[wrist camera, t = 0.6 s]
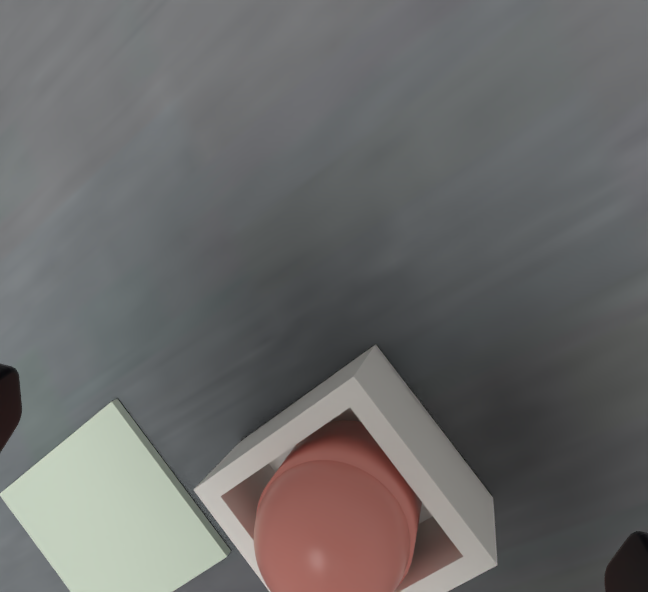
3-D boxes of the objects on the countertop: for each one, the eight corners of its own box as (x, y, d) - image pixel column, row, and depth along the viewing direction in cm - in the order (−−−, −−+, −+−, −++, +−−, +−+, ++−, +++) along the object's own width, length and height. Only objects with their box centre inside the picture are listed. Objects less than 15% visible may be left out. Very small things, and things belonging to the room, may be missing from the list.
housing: (493, 497, 21) (497, 565, 17) (345, 581, 23) (319, 658, 19) (375, 344, 21) (353, 376, 17) (240, 441, 23) (193, 489, 19)
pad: (231, 550, 24) (227, 556, 23) (108, 629, 26) (103, 635, 26) (117, 398, 24) (111, 401, 24) (5, 490, 26) (-1, 494, 26)
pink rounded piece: (451, 509, 20) (444, 620, 14) (341, 574, 21) (298, 695, 16) (363, 393, 20) (324, 461, 15) (259, 465, 21) (190, 550, 16)
